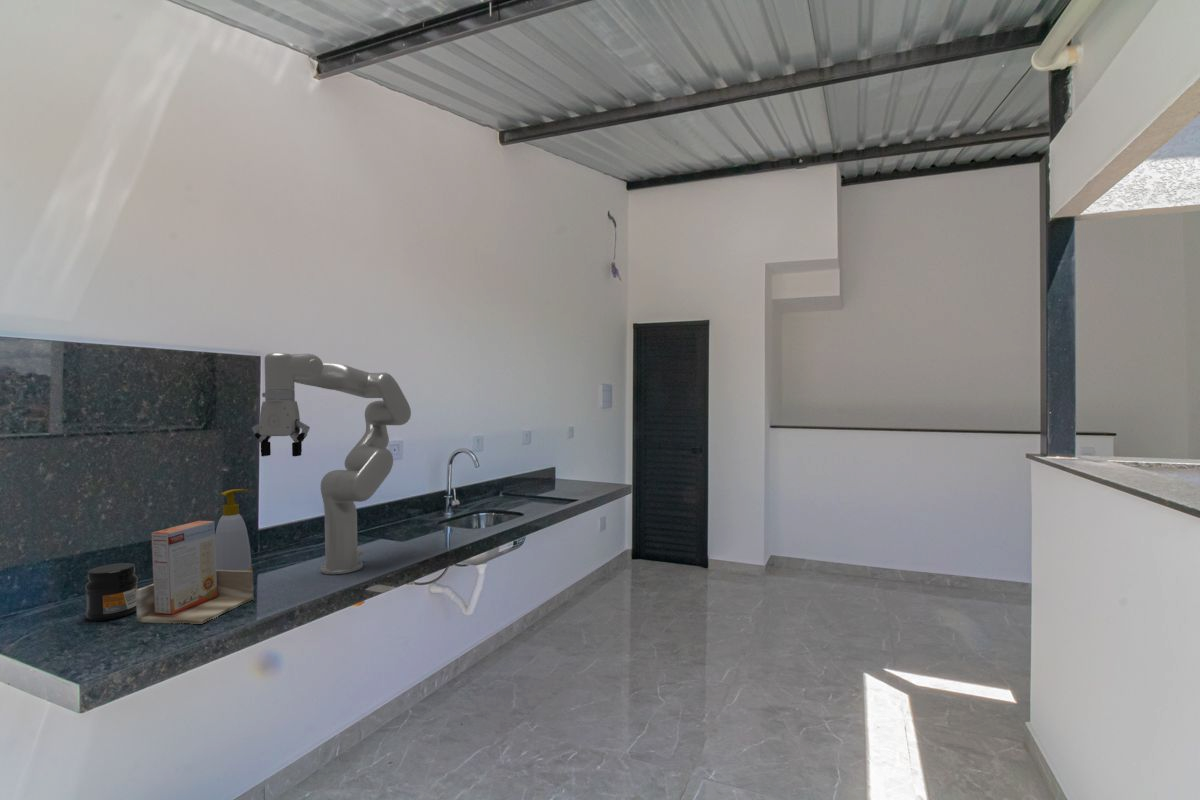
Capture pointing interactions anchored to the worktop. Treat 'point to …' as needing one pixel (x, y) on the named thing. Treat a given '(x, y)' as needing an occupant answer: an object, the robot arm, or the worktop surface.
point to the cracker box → (184, 566)
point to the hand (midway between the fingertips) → (281, 455)
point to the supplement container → (111, 592)
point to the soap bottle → (232, 537)
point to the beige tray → (230, 594)
